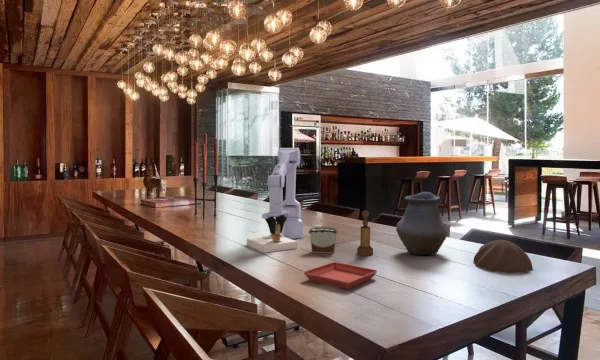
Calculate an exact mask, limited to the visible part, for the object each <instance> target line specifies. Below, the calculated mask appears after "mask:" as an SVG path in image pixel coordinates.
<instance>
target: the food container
mask: <svg viewBox="0 0 600 360" xmlns="http://www.w3.org/2000/svg"><path fill="white" fill-rule="evenodd" d="M308 234H309V236H310V237H309V238H310V246H311V247H310V248H311V253H323V254H325V253H326V254H334V253H335V249H336V239H337V235H338V234H339V233H338V229H337V228H335V227H333V226H332V227H331V226H313V227H310V228H309V230H308Z"/></svg>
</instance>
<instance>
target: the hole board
mask: <svg viewBox="0 0 600 360" xmlns="http://www.w3.org/2000/svg"><path fill="white" fill-rule="evenodd" d="M246 245H247V246H249V247H251V248H253V249H255V250H257V251H260V252H261V253H271V252H280V251H287V250H295V249H298V240H294V239H289V238H286V237H283V236H282V237H280V240H279V242H278V243H273V240H272V237H270V235H265V236H254V237H247V238H246Z"/></svg>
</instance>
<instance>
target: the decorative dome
mask: <svg viewBox="0 0 600 360" xmlns="http://www.w3.org/2000/svg"><path fill="white" fill-rule="evenodd" d="M531 260H532V259H531V258H530V257H529V255H528V254H527V253H526V252H525V251H524V249H522V248H521V247H520V246H519V245H517V244H516V243H514V242H512V241H509V240H505V239H495V240H491V241H489V242H486V243H485V244H483V245H481V246H480V248H479V249H478V251H477V252H476V253H475V255H474V257H473V264H475V267H478V268H481V269H485V270H487V271H490V272H500V273H506V274H513V273H514V274H515V273H517V272H518V273H520V274H521V273H522V274H525V273H527V271H528V270H529V271H533V263H532V261H531ZM529 271H528V272H529ZM518 273H517V274H518Z"/></svg>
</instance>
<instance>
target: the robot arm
mask: <svg viewBox="0 0 600 360" xmlns="http://www.w3.org/2000/svg"><path fill="white" fill-rule="evenodd" d="M277 158H278V163H277V164H276V165H275V166H274V168H273V171H272V173H271V174H270V175H268V177H267V181H266V182H267V183H266V184H267V191H268V192H269V199H268V200H269V211H268V212H265V213H261V219H263V220H265V222H266V224H267V226H268V229H269V231H270V232H269V233H270V234H275V226H276V223H279V224H280V234H282V236H283V237H286V238H289V239H292V240H294V239H301V238H305V236H304V223H303V221H302V219H301V217H302V205H301V203H300V202H299V201H298V200H297V199H296V189H297V188H296V187H297V185H296V180H297V167H298V166H299V165H300V163H301V150H300V148H299V147H279V148H278V150H277ZM284 187H285V199H284V200H283V197H284V195H283V194H284V193H283V192H284V191H283V188H284Z"/></svg>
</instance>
